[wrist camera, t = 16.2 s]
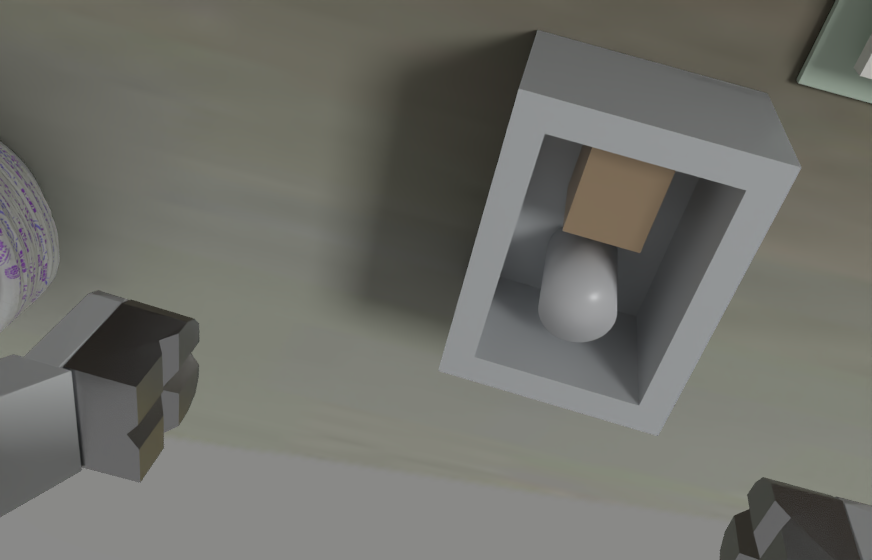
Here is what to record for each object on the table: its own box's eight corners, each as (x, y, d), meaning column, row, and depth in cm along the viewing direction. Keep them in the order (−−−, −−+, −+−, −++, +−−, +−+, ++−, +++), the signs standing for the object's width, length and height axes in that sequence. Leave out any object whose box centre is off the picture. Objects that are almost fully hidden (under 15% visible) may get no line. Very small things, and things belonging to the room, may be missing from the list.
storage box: (537, 29, 40) (518, 88, 33) (767, 93, 40) (801, 167, 32) (465, 280, 49) (438, 370, 42) (652, 334, 49) (657, 436, 41)
